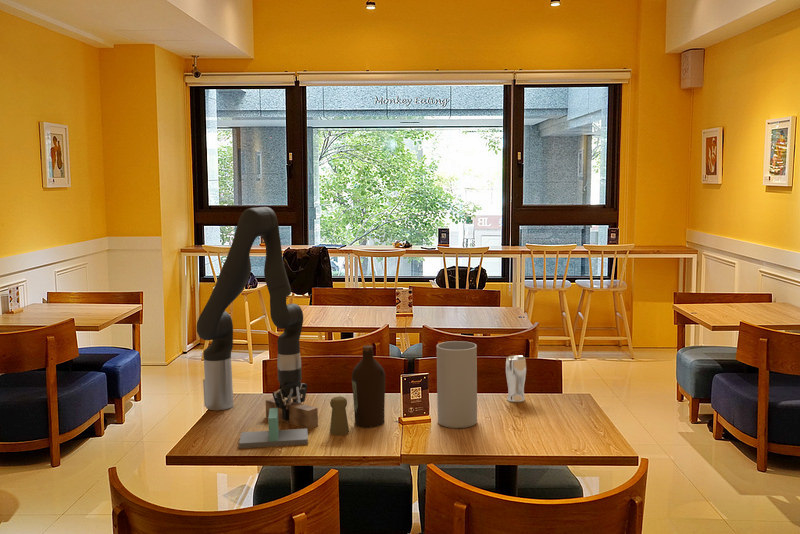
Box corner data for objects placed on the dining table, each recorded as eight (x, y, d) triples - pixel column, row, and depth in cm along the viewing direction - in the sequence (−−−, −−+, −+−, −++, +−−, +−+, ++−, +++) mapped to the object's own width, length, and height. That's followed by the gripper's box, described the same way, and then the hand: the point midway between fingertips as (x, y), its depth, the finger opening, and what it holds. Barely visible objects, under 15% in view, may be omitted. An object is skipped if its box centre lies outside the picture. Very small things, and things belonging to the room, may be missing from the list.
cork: (334, 436, 240) (333, 401, 239) (326, 430, 245) (325, 396, 244) (352, 433, 243) (351, 398, 241) (344, 427, 248) (343, 393, 247)
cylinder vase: (450, 414, 259) (450, 339, 256) (484, 420, 252) (483, 344, 249) (430, 424, 249) (428, 347, 246) (464, 431, 242) (463, 351, 239)
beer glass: (529, 398, 275) (529, 356, 273) (521, 403, 269) (521, 360, 267) (510, 396, 279) (510, 354, 277) (502, 401, 273) (502, 358, 271)
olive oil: (386, 417, 258) (384, 342, 254) (386, 427, 247) (384, 349, 244) (353, 418, 257) (351, 343, 254) (352, 428, 247) (350, 350, 244)
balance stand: (239, 448, 231) (237, 420, 230) (241, 437, 241) (240, 410, 240) (307, 444, 234) (306, 416, 233) (307, 433, 244) (306, 406, 242)
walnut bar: (266, 417, 260) (265, 400, 259) (275, 414, 263) (274, 397, 262) (309, 429, 248) (308, 410, 247) (318, 426, 251) (317, 407, 250)
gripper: (297, 360, 261) (298, 410, 263) (264, 369, 250) (267, 422, 252) (313, 363, 256) (315, 414, 259) (281, 372, 245) (283, 426, 247)
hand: (291, 418), depth 255 cm, fingers closed on walnut bar, 4 cm apart
